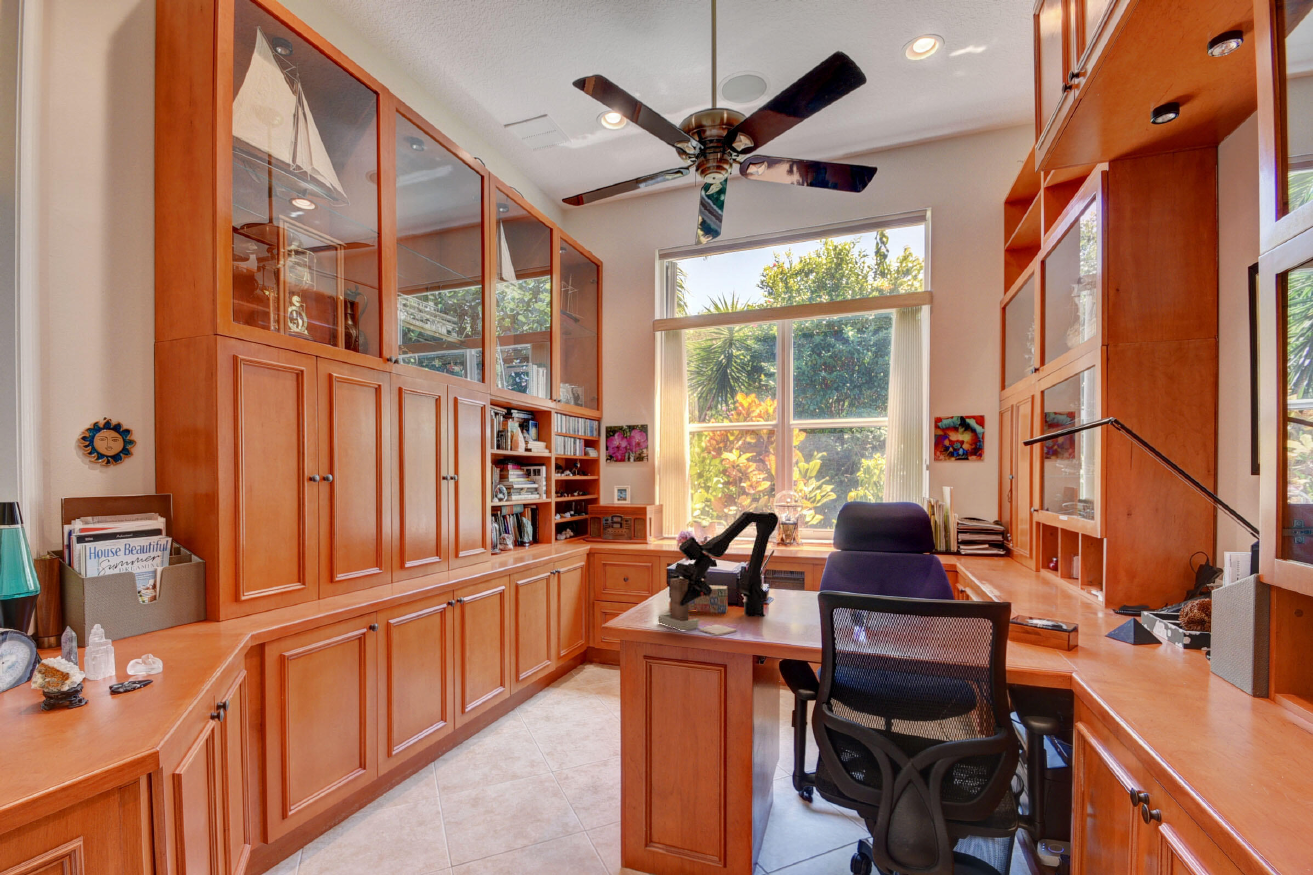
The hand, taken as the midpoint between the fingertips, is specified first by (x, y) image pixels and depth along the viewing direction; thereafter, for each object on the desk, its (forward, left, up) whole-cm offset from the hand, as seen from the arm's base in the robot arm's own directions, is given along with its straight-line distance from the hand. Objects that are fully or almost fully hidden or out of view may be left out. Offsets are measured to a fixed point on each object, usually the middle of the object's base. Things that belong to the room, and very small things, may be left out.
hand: (676, 604), depth 199 cm
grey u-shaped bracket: (-1, -1, -8) cm, 8 cm away
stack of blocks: (-12, -24, -8) cm, 28 cm away
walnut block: (-1, -1, -8) cm, 8 cm away
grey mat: (-13, +7, -8) cm, 17 cm away
